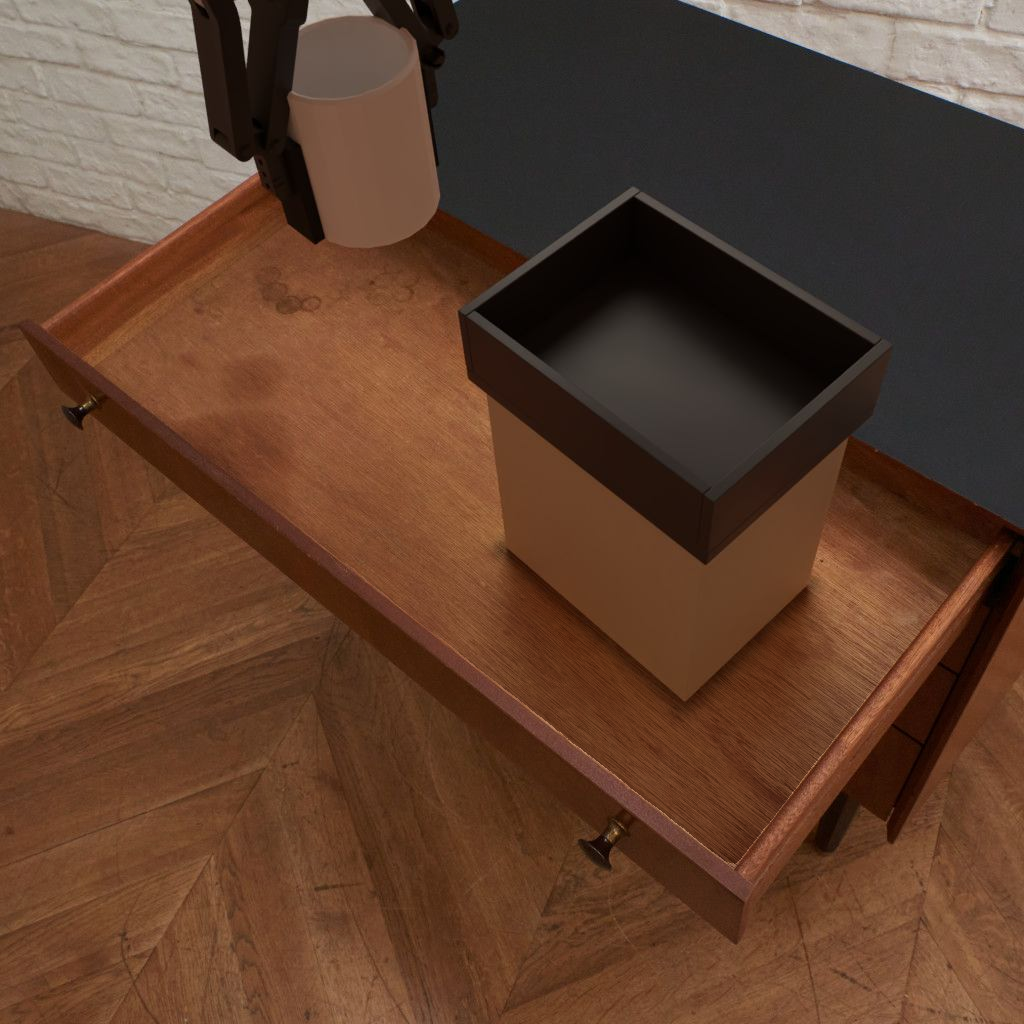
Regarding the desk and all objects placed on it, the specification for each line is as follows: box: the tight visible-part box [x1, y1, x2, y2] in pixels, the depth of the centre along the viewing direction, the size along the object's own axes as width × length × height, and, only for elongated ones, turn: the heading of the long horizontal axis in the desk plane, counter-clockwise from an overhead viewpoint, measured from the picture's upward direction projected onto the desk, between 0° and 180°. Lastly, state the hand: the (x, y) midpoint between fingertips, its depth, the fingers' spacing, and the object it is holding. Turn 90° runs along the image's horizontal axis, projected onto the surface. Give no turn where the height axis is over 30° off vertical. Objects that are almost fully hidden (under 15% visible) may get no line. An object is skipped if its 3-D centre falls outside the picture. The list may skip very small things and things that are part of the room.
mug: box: [287, 13, 441, 249], centre depth 66 cm, size 8×12×10 cm, turn 45°
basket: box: [457, 186, 894, 565], centre depth 55 cm, size 16×12×5 cm
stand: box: [485, 393, 850, 703], centre depth 64 cm, size 15×11×16 cm
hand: (364, 193), depth 69 cm, fingers closed on mug, 8 cm apart
